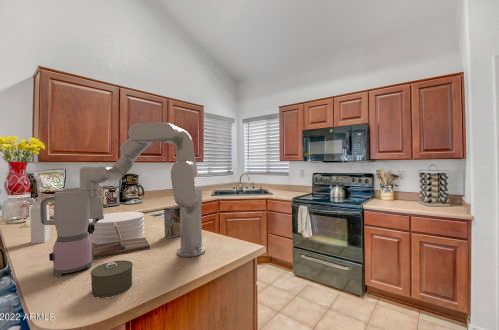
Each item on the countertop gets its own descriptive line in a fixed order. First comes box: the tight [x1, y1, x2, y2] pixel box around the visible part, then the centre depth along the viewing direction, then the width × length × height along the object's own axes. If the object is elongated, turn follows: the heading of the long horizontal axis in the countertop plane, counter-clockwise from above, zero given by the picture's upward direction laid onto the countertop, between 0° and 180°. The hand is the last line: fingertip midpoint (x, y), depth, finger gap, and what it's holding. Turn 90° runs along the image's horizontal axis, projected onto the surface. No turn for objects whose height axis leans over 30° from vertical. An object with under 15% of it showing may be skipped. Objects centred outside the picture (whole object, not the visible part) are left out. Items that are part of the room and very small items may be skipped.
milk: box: [29, 200, 51, 245], centre depth 128 cm, size 6×6×22 cm
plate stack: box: [88, 211, 145, 245], centre depth 136 cm, size 28×28×12 cm
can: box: [90, 259, 133, 299], centre depth 78 cm, size 12×12×7 cm
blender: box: [40, 186, 93, 277], centre depth 92 cm, size 16×12×32 cm
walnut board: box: [92, 236, 151, 260], centre depth 115 cm, size 16×23×3 cm
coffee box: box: [163, 205, 181, 239], centre depth 136 cm, size 9×6×16 cm
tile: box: [114, 222, 124, 246], centre depth 115 cm, size 10×11×1 cm
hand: (90, 233), depth 109 cm, fingers closed
